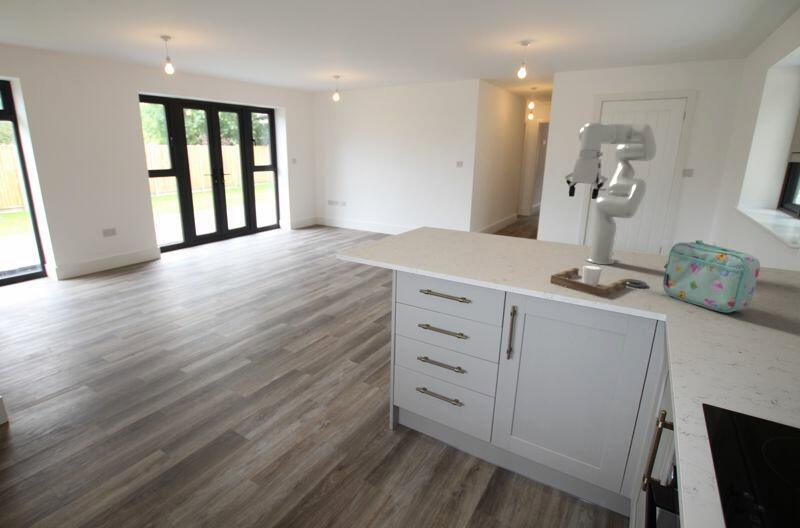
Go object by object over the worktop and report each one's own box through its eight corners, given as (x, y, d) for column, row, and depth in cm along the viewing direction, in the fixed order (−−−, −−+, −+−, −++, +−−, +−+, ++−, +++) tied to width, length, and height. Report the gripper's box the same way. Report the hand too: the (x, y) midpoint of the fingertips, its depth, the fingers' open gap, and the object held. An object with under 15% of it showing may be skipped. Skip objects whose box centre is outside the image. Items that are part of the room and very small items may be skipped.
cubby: (574, 274, 174) (575, 267, 173) (625, 287, 159) (627, 279, 158) (550, 282, 162) (551, 275, 161) (603, 297, 146) (604, 289, 146)
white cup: (601, 287, 157) (604, 270, 156) (582, 286, 159) (585, 268, 157) (596, 282, 164) (599, 265, 162) (578, 280, 165) (581, 264, 163)
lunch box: (654, 292, 153) (665, 236, 147) (672, 289, 157) (684, 235, 151) (731, 319, 129) (748, 254, 124) (751, 314, 133) (768, 251, 127)
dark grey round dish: (626, 279, 168) (626, 277, 168) (650, 285, 161) (650, 282, 161) (617, 283, 162) (617, 281, 162) (641, 289, 156) (641, 287, 156)
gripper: (615, 156, 161) (607, 199, 165) (573, 155, 174) (567, 195, 178) (606, 155, 156) (599, 199, 160) (564, 154, 169) (558, 195, 173)
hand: (582, 197), depth 169 cm, fingers open, 9 cm apart
